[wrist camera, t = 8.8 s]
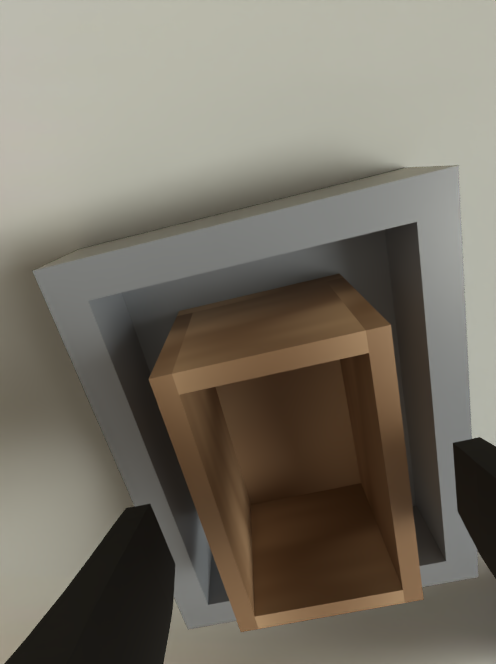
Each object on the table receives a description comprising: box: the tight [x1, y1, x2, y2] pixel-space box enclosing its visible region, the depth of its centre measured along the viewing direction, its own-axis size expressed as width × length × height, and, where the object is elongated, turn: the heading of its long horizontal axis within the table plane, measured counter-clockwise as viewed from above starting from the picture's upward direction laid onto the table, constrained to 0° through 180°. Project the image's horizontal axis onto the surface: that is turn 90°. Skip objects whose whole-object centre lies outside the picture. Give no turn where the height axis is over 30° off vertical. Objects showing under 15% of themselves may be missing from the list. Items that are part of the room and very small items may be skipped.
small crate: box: [149, 274, 424, 632], centre depth 12 cm, size 5×8×4 cm, turn 13°
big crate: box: [33, 165, 478, 629], centre depth 13 cm, size 10×13×3 cm
